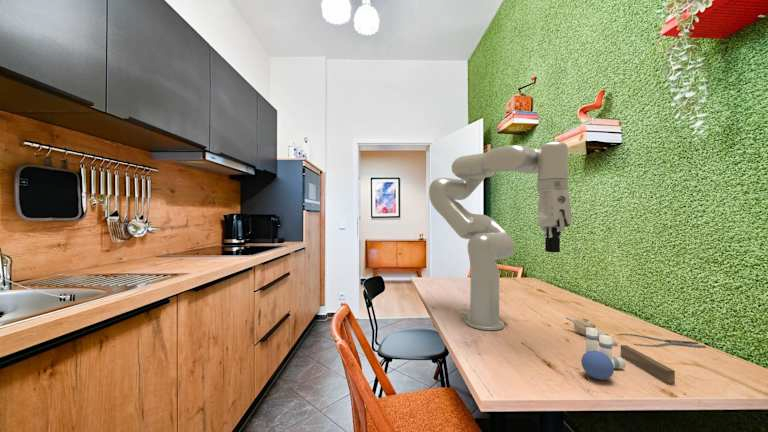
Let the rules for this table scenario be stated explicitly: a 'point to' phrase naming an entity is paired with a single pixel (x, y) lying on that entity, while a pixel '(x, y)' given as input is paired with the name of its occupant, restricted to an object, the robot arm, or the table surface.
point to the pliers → (671, 342)
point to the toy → (581, 327)
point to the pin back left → (591, 339)
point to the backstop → (648, 364)
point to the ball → (597, 365)
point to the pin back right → (605, 345)
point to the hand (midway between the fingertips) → (552, 251)
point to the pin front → (618, 363)
